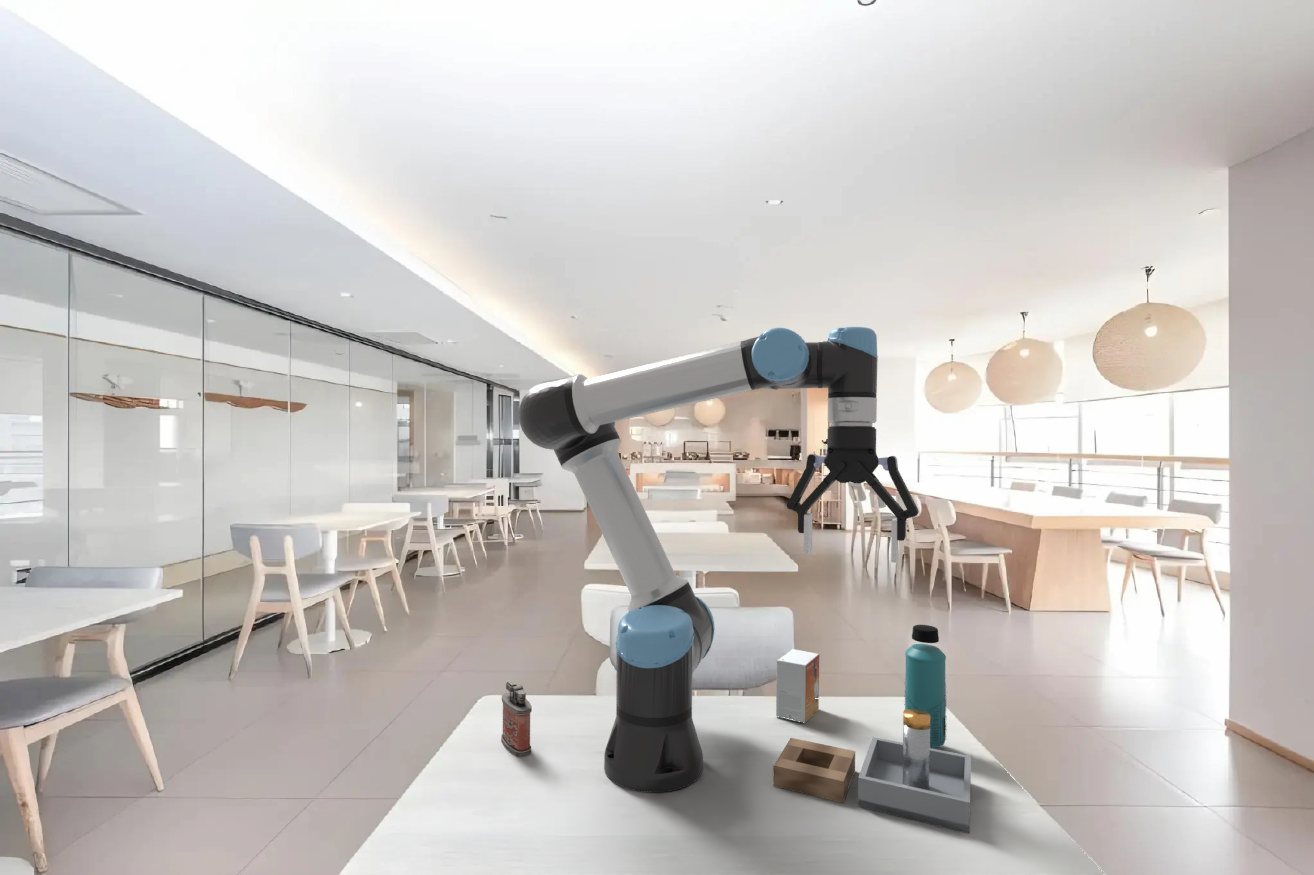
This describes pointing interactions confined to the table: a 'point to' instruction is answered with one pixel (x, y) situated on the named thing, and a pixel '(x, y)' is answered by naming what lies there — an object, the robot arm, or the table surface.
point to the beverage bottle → (927, 681)
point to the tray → (931, 806)
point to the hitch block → (815, 769)
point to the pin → (916, 748)
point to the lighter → (516, 720)
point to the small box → (797, 685)
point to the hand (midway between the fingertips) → (850, 557)
